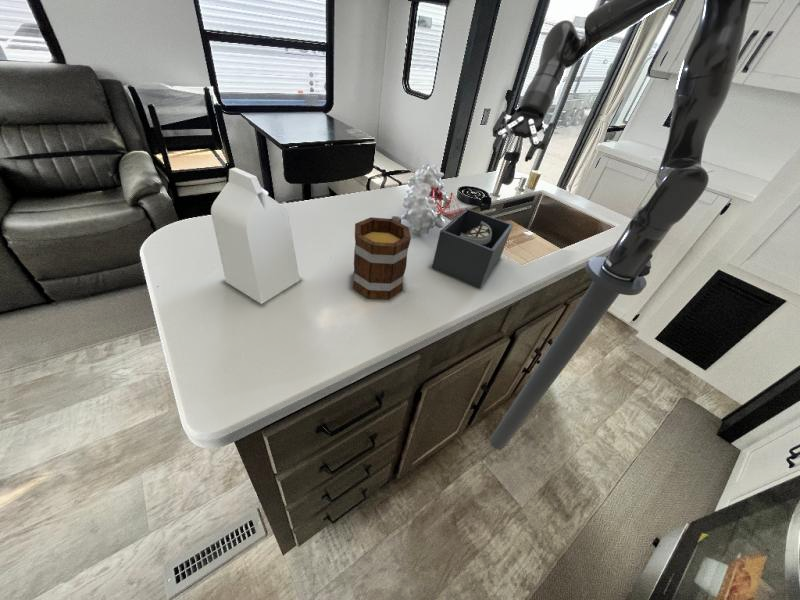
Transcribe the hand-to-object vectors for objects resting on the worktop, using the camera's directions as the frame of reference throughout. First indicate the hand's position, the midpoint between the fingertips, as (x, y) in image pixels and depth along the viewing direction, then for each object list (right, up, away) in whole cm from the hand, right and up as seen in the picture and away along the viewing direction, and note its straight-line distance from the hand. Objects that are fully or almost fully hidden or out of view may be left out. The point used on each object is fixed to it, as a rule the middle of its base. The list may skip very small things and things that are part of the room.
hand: (510, 155), depth 83 cm
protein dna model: (-20, -11, +28) cm, 36 cm away
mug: (-34, -32, +1) cm, 46 cm away
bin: (-9, -27, +11) cm, 30 cm away
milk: (-62, -33, -6) cm, 70 cm away
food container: (-8, -26, +11) cm, 30 cm away
